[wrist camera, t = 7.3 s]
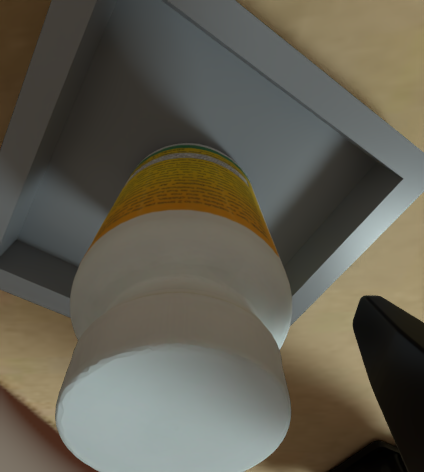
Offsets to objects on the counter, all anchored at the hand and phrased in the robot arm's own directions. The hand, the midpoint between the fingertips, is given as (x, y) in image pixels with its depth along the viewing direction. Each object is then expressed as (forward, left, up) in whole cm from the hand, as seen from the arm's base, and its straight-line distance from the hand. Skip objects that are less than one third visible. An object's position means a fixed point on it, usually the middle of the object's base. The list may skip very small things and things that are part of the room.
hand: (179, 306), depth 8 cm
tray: (0, 0, -7) cm, 7 cm away
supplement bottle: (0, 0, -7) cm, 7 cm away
